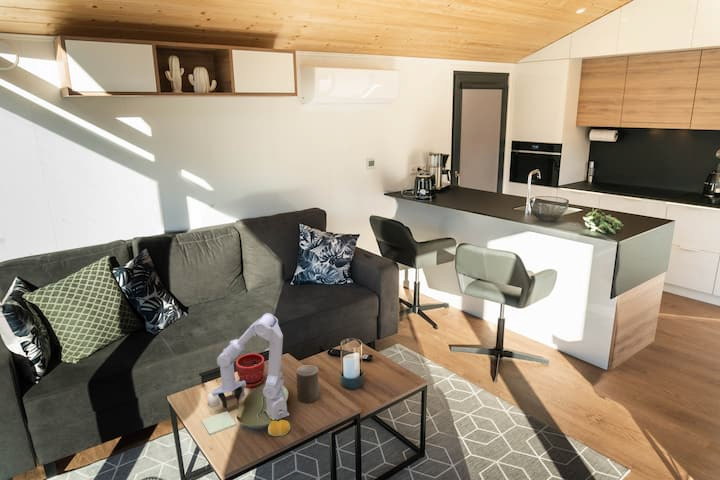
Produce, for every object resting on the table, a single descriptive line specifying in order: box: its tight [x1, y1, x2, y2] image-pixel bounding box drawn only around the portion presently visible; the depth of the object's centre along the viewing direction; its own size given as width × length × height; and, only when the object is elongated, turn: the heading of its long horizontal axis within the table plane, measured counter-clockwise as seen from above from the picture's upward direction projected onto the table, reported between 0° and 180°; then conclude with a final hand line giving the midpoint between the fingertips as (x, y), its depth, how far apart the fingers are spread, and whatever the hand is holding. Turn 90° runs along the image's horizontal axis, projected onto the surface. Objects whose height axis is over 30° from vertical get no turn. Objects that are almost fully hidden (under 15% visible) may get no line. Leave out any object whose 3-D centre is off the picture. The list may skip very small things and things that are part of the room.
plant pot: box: [235, 353, 266, 388], centre depth 234 cm, size 13×13×12 cm
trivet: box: [201, 410, 237, 436], centre depth 205 cm, size 11×11×1 cm
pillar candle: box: [295, 364, 320, 404], centre depth 220 cm, size 10×10×15 cm
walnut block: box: [224, 393, 239, 413], centre depth 214 cm, size 4×4×5 cm
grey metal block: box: [231, 386, 246, 400], centre depth 223 cm, size 4×4×4 cm
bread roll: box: [267, 419, 291, 437], centre depth 199 cm, size 8×9×4 cm
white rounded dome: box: [206, 390, 221, 408], centre depth 218 cm, size 5×5×5 cm
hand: (230, 405), depth 215 cm, fingers open, 5 cm apart
